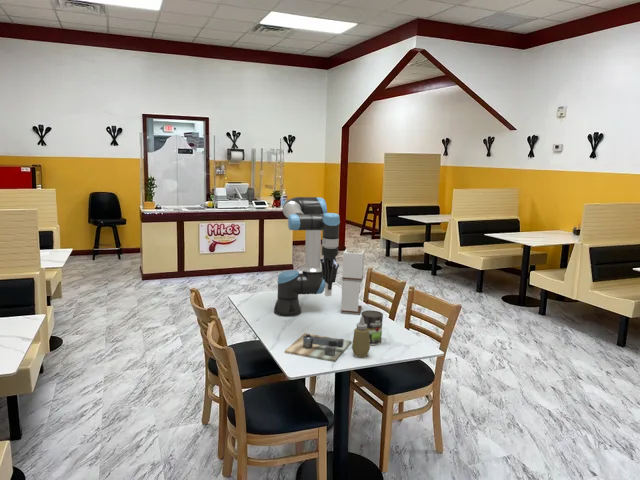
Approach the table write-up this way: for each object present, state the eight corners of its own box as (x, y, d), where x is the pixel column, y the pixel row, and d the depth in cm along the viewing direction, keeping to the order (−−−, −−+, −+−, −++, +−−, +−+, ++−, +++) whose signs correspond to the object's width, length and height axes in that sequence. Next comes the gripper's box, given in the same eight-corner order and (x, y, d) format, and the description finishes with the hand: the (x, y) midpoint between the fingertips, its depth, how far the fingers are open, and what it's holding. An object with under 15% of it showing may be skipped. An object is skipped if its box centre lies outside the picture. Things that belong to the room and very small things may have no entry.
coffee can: (385, 343, 238) (387, 315, 235) (367, 346, 233) (369, 318, 230) (373, 336, 246) (375, 309, 244) (356, 339, 242) (357, 311, 239)
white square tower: (359, 315, 278) (362, 254, 272) (340, 313, 279) (343, 252, 273) (361, 309, 289) (364, 250, 283) (343, 307, 290) (345, 249, 284)
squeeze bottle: (350, 351, 227) (351, 313, 223) (367, 351, 227) (369, 313, 224) (352, 358, 219) (354, 319, 216) (370, 358, 219) (372, 319, 216)
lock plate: (284, 352, 223) (284, 338, 222) (304, 335, 245) (305, 321, 244) (335, 362, 215) (335, 346, 213) (351, 342, 237) (351, 329, 236)
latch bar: (302, 347, 226) (302, 337, 225) (304, 344, 230) (304, 334, 229) (341, 352, 222) (342, 342, 221) (343, 348, 226) (343, 338, 225)
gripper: (316, 244, 233) (314, 292, 237) (330, 250, 222) (328, 300, 227) (329, 243, 237) (327, 290, 241) (344, 249, 226) (342, 298, 230)
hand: (328, 295), depth 234 cm, fingers closed
